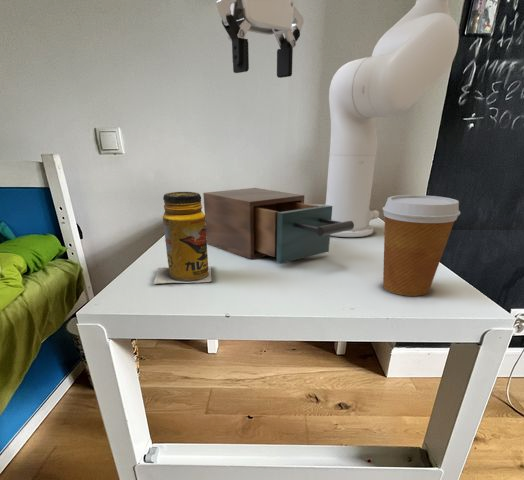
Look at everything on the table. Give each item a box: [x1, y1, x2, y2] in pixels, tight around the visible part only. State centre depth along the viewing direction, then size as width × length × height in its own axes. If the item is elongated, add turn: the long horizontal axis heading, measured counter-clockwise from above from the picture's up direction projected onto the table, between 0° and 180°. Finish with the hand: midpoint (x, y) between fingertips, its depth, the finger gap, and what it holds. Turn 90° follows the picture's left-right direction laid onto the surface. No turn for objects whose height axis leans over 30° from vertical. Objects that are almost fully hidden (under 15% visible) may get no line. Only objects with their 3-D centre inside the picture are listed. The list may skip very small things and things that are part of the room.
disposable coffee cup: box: [382, 194, 461, 297], centre depth 53 cm, size 10×10×12 cm
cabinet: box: [202, 187, 305, 260], centre depth 74 cm, size 15×13×10 cm
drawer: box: [253, 201, 354, 264], centre depth 67 cm, size 20×11×8 cm, turn 39°
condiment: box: [152, 191, 212, 285], centre depth 57 cm, size 7×8×12 cm
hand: (263, 74), depth 65 cm, fingers open, 9 cm apart
